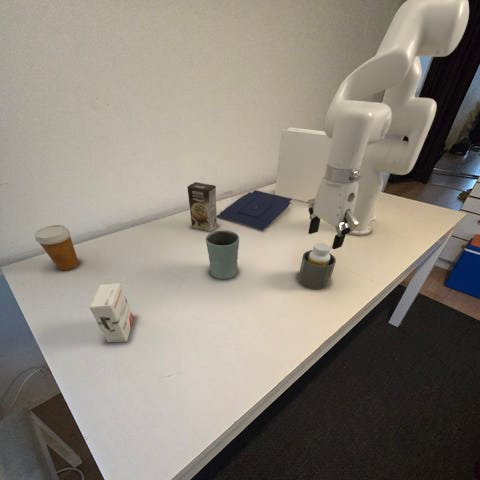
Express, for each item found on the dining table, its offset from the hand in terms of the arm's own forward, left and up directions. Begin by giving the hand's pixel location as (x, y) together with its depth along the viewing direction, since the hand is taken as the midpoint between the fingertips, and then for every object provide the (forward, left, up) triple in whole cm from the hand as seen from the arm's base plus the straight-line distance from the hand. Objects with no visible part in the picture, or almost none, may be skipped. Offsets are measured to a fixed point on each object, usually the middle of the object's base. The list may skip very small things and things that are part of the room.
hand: (324, 239), depth 74 cm
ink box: (+58, -7, -14) cm, 60 cm away
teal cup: (+23, -18, -14) cm, 32 cm away
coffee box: (+15, -51, -14) cm, 55 cm away
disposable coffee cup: (+67, -46, -14) cm, 83 cm away
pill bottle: (0, 0, -13) cm, 13 cm away
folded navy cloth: (-12, -53, -14) cm, 56 cm away
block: (-45, -55, -14) cm, 72 cm away
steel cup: (0, 0, -14) cm, 14 cm away
